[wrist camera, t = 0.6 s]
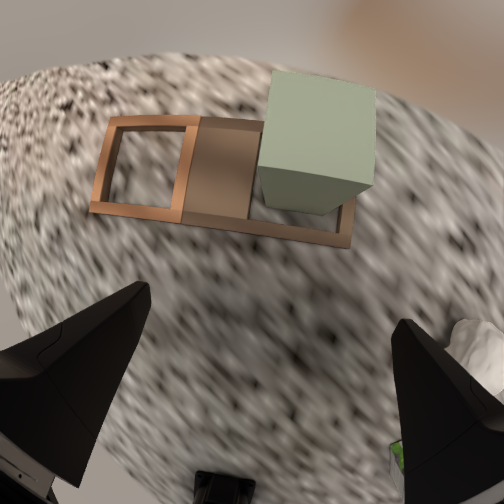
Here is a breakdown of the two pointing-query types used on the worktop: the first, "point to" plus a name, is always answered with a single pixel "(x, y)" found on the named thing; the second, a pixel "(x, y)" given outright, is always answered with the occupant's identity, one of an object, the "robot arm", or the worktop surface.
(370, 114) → the sage peg
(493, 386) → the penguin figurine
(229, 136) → the copper brown frame
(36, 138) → the worktop surface
